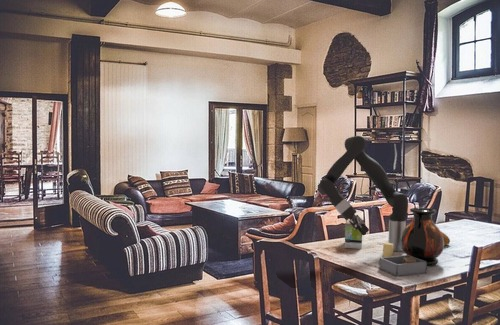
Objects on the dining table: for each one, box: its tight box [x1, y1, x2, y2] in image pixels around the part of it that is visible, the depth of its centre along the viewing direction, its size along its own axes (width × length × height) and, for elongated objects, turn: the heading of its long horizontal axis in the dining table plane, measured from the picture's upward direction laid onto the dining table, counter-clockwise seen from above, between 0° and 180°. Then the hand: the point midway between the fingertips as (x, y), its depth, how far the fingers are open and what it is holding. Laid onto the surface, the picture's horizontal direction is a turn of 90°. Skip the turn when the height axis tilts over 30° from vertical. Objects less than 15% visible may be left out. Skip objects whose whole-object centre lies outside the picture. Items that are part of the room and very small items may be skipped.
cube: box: [403, 258, 416, 264], centre depth 229 cm, size 5×5×5 cm
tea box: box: [344, 219, 363, 250], centre depth 280 cm, size 15×10×15 cm
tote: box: [378, 254, 428, 277], centre depth 228 cm, size 17×13×6 cm
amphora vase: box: [401, 207, 445, 267], centre depth 244 cm, size 22×22×28 cm
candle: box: [382, 242, 394, 257], centre depth 242 cm, size 5×5×10 cm
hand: (366, 232), depth 246 cm, fingers open, 8 cm apart
